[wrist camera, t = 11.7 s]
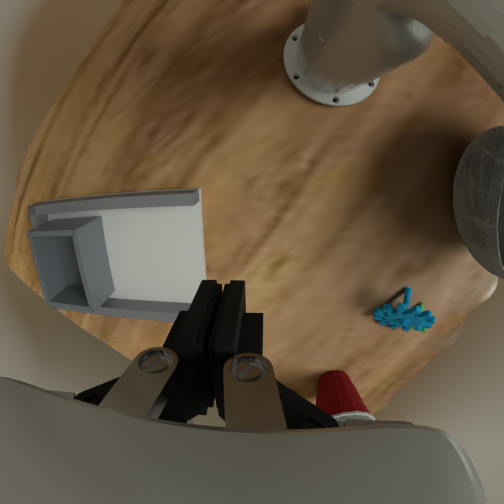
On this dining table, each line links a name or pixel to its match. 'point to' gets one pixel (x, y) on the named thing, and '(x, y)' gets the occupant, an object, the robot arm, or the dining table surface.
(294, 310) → the dining table surface
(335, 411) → the plastic cup
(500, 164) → the bowl
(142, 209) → the bay
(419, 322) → the gear
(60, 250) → the crate
